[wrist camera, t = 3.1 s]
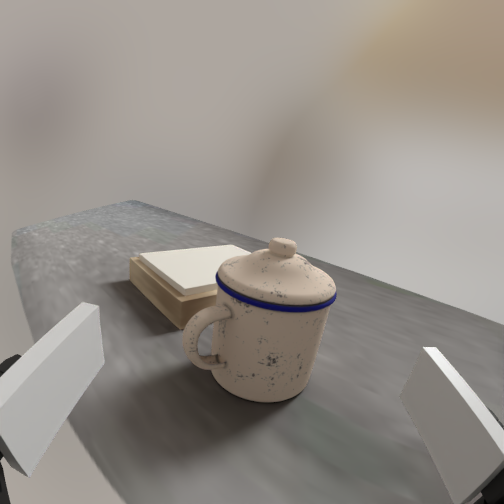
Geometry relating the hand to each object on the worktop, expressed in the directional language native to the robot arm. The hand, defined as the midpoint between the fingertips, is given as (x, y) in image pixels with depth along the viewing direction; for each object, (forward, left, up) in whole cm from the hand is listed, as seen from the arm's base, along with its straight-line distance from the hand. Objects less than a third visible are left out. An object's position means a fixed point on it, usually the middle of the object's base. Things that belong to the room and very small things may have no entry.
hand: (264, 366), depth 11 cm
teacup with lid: (-8, -8, -10) cm, 15 cm away
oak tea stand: (-16, -24, -9) cm, 30 cm away
